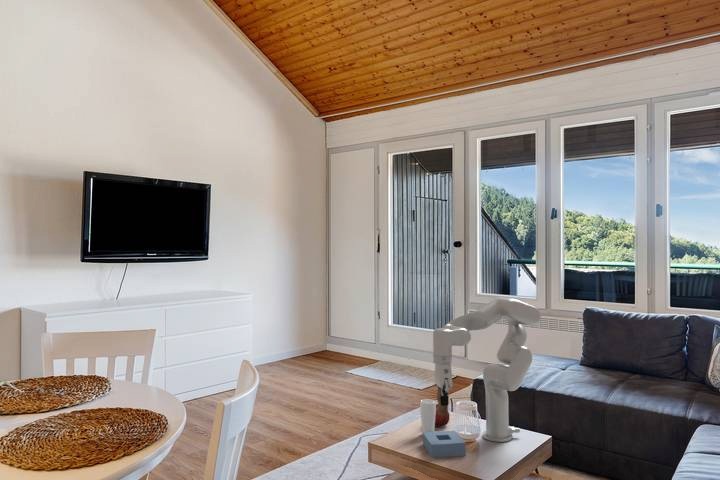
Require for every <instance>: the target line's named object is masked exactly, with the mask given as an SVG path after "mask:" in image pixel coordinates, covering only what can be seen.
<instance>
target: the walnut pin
mask: <svg viewBox="0 0 720 480" xmlns="http://www.w3.org/2000/svg"><path fill="white" fill-rule="evenodd" d="M443 388H445V386H443ZM444 390H445V389H444ZM444 390H443V391H444ZM437 404H438V414H439V415H448V412H449V405H448V406H441V388H440V387H439V386H438V401H437Z"/></svg>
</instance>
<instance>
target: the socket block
mask: <svg viewBox="0 0 720 480" xmlns="http://www.w3.org/2000/svg"><path fill="white" fill-rule="evenodd" d="M422 445H423V447H424V448H425V450H426V451H427V453H428V455H429V456H430V457H431V458H443V457H462V456H463V457H464V456H466V454H467V451H466V449H467V446H466V445H467V444H466V442H465V440H464V439H463V438H462V437H461V436H460V435H459V433H458V432H457V431H456V430H445V431H443V430H442V431H439V430H438V431H434V432H423V434H422Z"/></svg>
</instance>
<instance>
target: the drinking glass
mask: <svg viewBox="0 0 720 480" xmlns="http://www.w3.org/2000/svg"><path fill="white" fill-rule="evenodd" d="M436 404H437V401H435V400H434V399H431V398H430V399H429V398H426V399H421V400H420V404H419V407H420V408H419V409H420V419H421V422H420V423H421V431H422V432H421V433H422V435H423V432H435V427H436V426H435V415H436Z"/></svg>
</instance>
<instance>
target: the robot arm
mask: <svg viewBox="0 0 720 480" xmlns="http://www.w3.org/2000/svg"><path fill="white" fill-rule="evenodd" d="M541 317H542V315H541V312H540V309H538V308H537V307H536V306H534V305H532V304H529V303H526V302H523V301H521V300H518V299H515V298H509V297H508V298H507V297H496V298H494V299H492V300H490V301H489V302H487V303H485V304H484V305H483V306H482V307H479V308H478V309H477V310H475V311H473V312H469V313H467V314H464V315H460V316H458V317H455V318H453V319H452V320H449V322H447V323H446V324H445V325H444V326H443V327H438V328H435V329H433V332H432V342H433V343H432V345H433V346H432V347H433V348H432V349H433V350H432V352H433V355H432V356H433V357H432V358H433V363H434V382H435V384H436V389H437V390H436V391H437V392H436V393H437V395H436V396H437V397H436V398H437V399H436V402H438V386H439V387H440V388H441V406H448V407H449V399H450V398H449V395H450V394H449V392H450V389H452V388H453V375H452V374H453V371H452V363H453V362H452V360H453V359H452V358H453V357H452V355H453V354H452V352H453V349H452V346H453V347H464V346H467V345H468V344H470V342H471V340H472V335H471V333H470V332H471V331H479V330H480V331H481V330H485V329H488V328H489V327H491V326H492V325H494V324H495V323H497V322H499V321H500V320H501V319H503V318H505V319H506V320H507V324H508V325H507V327H508V328H507V330H508V331H507V333H506V335H505V337H504V339H503V341H502V342H501V344H500V346H499V348H498V350H497V353H496V358H497V361H499V362H500V363H502V364H504V365H502V364H500V363H489V364H487V365H486V366H485V367H484V368H483V372H482V380H483V383H484V389H485V420H486V421H485V422H486V424H485V430H484V431H483V432H482V438H484V440H488V441H491V442H495V443H507V442H510V441H512V440H513V437H514V436H513V433H515V434H519V433H520V432H521V431H520V427H515V426H509V425H510V424H509V423H510V422H509V421H510V420H509V395H508V394H509V393H508V392H513V391H516V390H518V389H519V388H520V386H521V385H522V383H523V382H524V379H525V378H526V376H527V373H528V371H529V370H530V367H531V366H532V363H533V354H532V351H531V349H530V348H528V347H526V346H524V345H525V344H526V342H527V338H528V335H527V334H528V333H527V330H526V329H527V328H526V326H531V327H532V326H536V325H537V324H538V323H540V320H541ZM443 386H445V388H443ZM444 389H445V390H444ZM443 390H444V391H443Z"/></svg>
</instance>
